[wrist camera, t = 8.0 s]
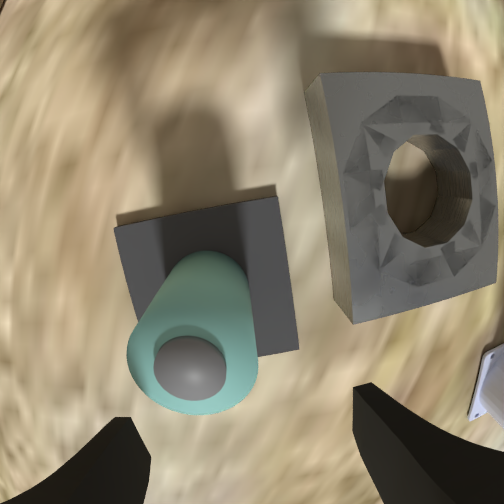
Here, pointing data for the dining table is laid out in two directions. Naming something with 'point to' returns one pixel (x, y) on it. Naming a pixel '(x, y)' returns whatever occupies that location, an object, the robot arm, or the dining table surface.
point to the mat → (226, 242)
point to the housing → (374, 198)
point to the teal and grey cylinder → (197, 338)
